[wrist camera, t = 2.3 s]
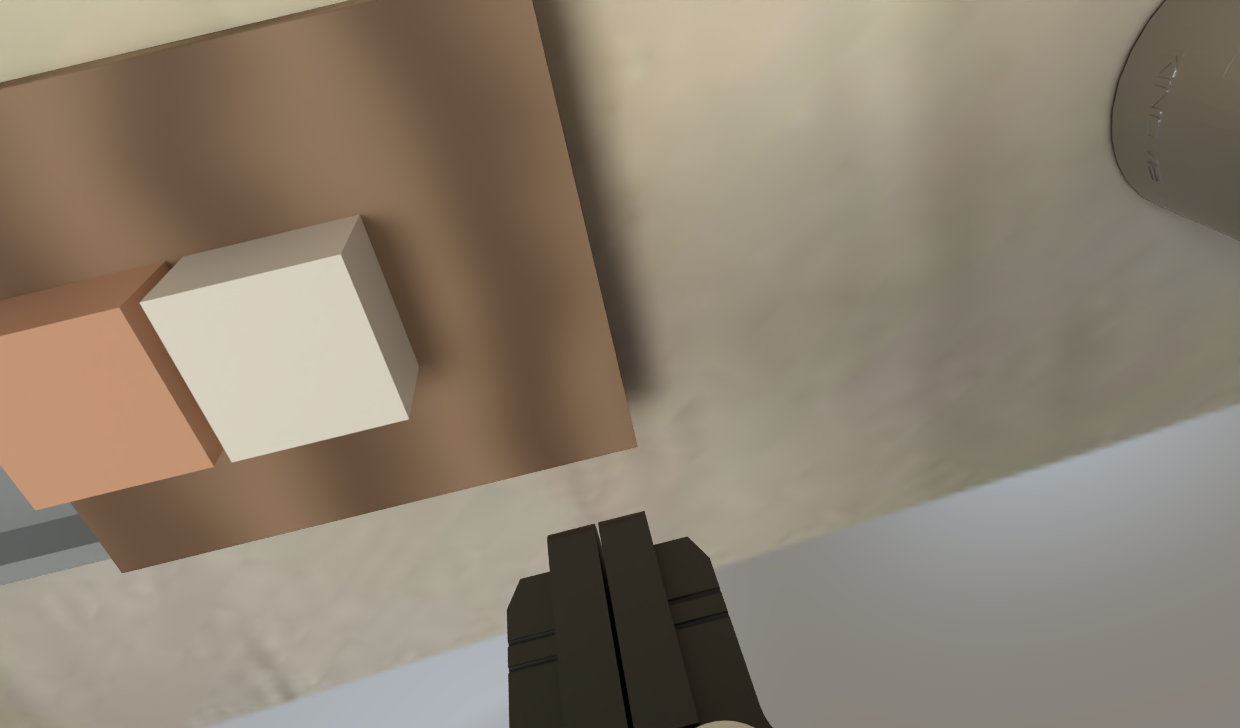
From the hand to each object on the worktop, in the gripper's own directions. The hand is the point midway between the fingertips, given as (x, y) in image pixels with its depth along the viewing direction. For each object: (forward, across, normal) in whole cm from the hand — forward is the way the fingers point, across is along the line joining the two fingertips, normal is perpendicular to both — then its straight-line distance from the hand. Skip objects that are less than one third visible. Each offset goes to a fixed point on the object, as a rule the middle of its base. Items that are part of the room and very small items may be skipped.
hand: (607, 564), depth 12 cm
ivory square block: (+13, +7, 0) cm, 15 cm away
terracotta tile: (+13, +13, 0) cm, 18 cm away
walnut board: (+16, +8, 0) cm, 18 cm away
